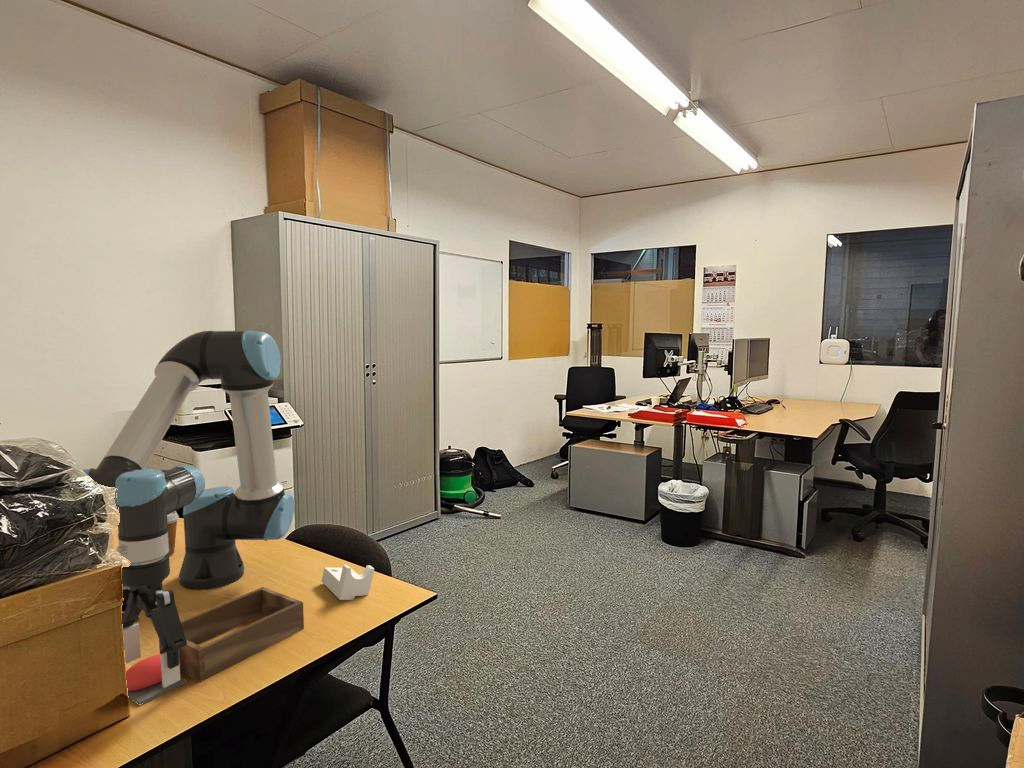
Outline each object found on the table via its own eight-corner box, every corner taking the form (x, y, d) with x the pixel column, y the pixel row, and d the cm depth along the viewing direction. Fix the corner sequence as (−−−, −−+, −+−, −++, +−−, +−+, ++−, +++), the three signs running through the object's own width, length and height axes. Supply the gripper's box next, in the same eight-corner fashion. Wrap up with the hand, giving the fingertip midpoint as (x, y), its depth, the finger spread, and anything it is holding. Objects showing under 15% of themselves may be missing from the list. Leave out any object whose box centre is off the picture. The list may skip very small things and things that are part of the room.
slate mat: (117, 690, 106) (116, 687, 106) (163, 669, 113) (162, 666, 113) (139, 705, 102) (139, 702, 102) (186, 682, 108) (186, 679, 108)
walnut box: (160, 659, 116) (158, 630, 116) (263, 612, 135) (262, 586, 135) (200, 681, 109) (198, 650, 108) (303, 628, 128) (303, 602, 127)
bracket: (367, 599, 144) (374, 568, 145) (340, 600, 140) (347, 568, 141) (347, 581, 155) (354, 552, 155) (321, 581, 150) (328, 551, 151)
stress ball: (177, 693, 106) (188, 655, 109) (121, 692, 101) (133, 652, 104) (171, 690, 110) (181, 653, 113) (116, 689, 105) (128, 650, 108)
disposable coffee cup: (187, 553, 171) (185, 512, 170) (152, 564, 163) (150, 521, 162) (169, 546, 176) (167, 507, 175) (135, 557, 168) (132, 516, 167)
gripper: (88, 550, 108) (95, 660, 110) (159, 581, 95) (166, 705, 97) (132, 538, 115) (138, 642, 117) (205, 565, 102) (210, 682, 103)
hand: (151, 671), depth 107 cm, fingers open, 13 cm apart
